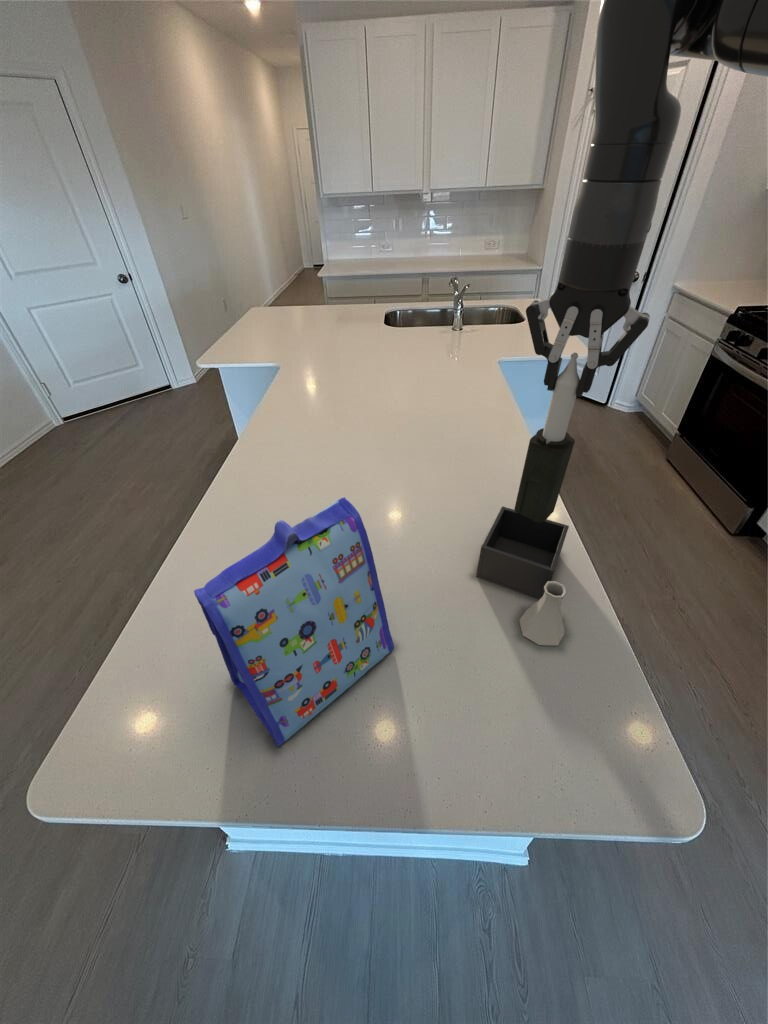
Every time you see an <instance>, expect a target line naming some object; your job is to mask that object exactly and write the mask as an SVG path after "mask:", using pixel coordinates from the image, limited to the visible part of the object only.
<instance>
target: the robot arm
mask: <svg viewBox="0 0 768 1024" xmlns="http://www.w3.org/2000/svg"><path fill="white" fill-rule="evenodd" d="M595 39H596V40H595V41H596V42H595V43H596V44H595V71H594V73H595V75H594V76H595V77H594V129H593V133H592V136H591V140H590V144H589V148H588V153H587V158H586V163H585V167H584V171H583V176H582V177H583V178H582V181H581V185H580V187H579V192H578V194H577V197H576V200H575V204H574V206H573V211H572V215H571V221H570V224H569V229H568V234H567V238H566V243H565V247H564V252H563V257H562V261H561V267H560V270H559V271H560V272H559V276H558V280H557V285H556V287H555V290H554V291H553V292H552V293H551V295H550V296H549V298H546V299H542V300H540V301H539V300H536V299H535V300H533V301H532V302H531V303H530V304H528V306H527V307H526V308H525V315H526V319H527V323H528V328H529V332H530V336H531V340H532V345H533V349H534V353H535V354H536V355H537V356H542V357H545V359H546V360H547V363H546V368H545V374H544V376H543V377H544V378H543V385H544V386H547V388H546V390H547V391H550V392H553V390H554V386H555V381H556V378H557V377H558V376H559V375H560V370H561V365H562V363H563V362H562V361H563V357H562V354H563V352H564V349H565V347H566V345H567V343H568V341H569V339H570V337H575V336H581V337H583V338H585V339H588V342H587V358H586V361H585V363H584V366H583V368H582V371H581V372H582V373H581V375H580V382H579V386H578V389H577V393H576V397H581V398H582V397H583V394H584V393H586V394H587V393H588V392H589V391H590V390H591V387H592V385H593V383H594V379H595V376H596V372H597V369H598V368H599V367H600V368H601V367H604V366H607V367H612V366H615V364H616V363H617V362H618V361H619V360H620V359H621V358H622V356H623V355H624V354H625V353H626V352H627V351H628V349H630V347H631V346H632V345H633V344H634V343H635V342H636V340H637V339H638V338H639V337H640V336H641V334H643V332H644V331H645V330H646V329H647V328H648V326H649V324H650V314H649V313H648V312H640V311H639V310H638V309H636V308H634V307H632V306H631V303H632V301H631V298H630V296H631V295H630V293H631V288H632V285H633V283H634V279H635V275H636V272H637V269H638V267H639V263H640V259H641V257H642V253H643V249H644V246H645V244H646V242H647V241H646V240H647V237H648V234H649V232H650V231H651V228H652V224H653V223H652V221H653V218H654V215H655V212H656V208H657V203H658V198H659V194H660V193H659V192H660V188H661V184H662V179H663V176H664V173H665V170H666V167H667V163H668V160H669V157H670V154H671V150H672V147H673V144H674V141H675V138H676V135H677V132H678V128H679V124H680V120H681V113H682V107H681V102H680V100H679V99H678V98H677V97H676V96H675V95H674V94H672V93H671V92H670V91H669V89H668V85H667V82H668V74H669V73H668V71H669V64H670V57H678V58H679V57H680V58H689V59H697V60H698V59H699V60H707V61H717V62H719V64H720V65H722V66H724V67H726V68H729V69H730V70H734V71H737V72H740V73H745V74H751V75H757V76H761V77H767V78H768V0H601V2H600V7H599V12H598V18H597V25H596V38H595ZM549 309H551V312H552V314H553V316H554V318H555V321H556V323H557V325H558V329H559V330H558V332H557V335H556V337H555V339H554V342H553V344H552V343H551V342H550V340H549V336H548V331H547V325H546V322H545V320H546V318H547V317H548V316H549ZM622 318H625V321H624V323H623V327H622V329H623V331H624V332H623V333H622V334H621V335H620V337H619V338H618V339H617V341H615V343H613V345H612V346H611V347H610V348H609V350H606V351H602V350H603V343H604V336H605V333H606V332H607V331H608V330H609V329H611V328H612V326H614V325H615V324H616V323H618V322H619V321H620V320H621V319H622Z"/></svg>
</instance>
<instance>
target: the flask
mask: <svg viewBox="0 0 768 1024" xmlns="http://www.w3.org/2000/svg"><path fill="white" fill-rule="evenodd" d="M544 590H545V592H544V595H543V597H542V598H540V599H537V601H536V602H534V603H533V604H532V605H531V606H529V607H528V608H527V609H526V610H525V612H524V613H523V615H522V616H521V617H520V619H519V620H518V621H519V625H520V630H521V634H522V636H523V637H524V638H526V639H528V640H530V641H531V642H533V643H535V644H537V645H538V646H553V647H554V646H555V647H556V646H559V645H560V642H561V640H562V639H563V637H564V636H565V634H566V632H565V625H564V621H563V616H562V615H563V614H562V609H561V608H562V600H563V599H564V598H565V596H566V595H567V589H566V586H565V585H564V584H562V583H560V582H558V581H555V580H553V581H552V580H551V581H548V582H547V583H546V585H545V586H544Z"/></svg>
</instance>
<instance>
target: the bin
mask: <svg viewBox="0 0 768 1024" xmlns="http://www.w3.org/2000/svg"><path fill="white" fill-rule="evenodd" d="M569 528H570V525H569V524H568V525H567V524H565V523H560V522H557V521H553V520H550V519H548V518H547V519H546V520H545V521H544V522H541V523H538V522H534V521H533V520H532V519H530V518H528V517H526V516H524V515H522V514H518V513H516V512H515V510H514V509H513V508H509V507H506V506H503V505H502V506H501V508H500V509H499V512H498V513H497V516H496V518H495V519H494V521H493V523H492V525H491V527H490V529H489V531H488V532H487V535H486V537H485V539H484V540H483V542H482V544H481V546H480V550H479V558H478V561H477V569H476V575H475V577H476V578H478V579H481V580H483V581H487V582H490V583H492V584H495V585H498V586H500V587H503V588H506V589H509V590H512V591H514V592H517V593H520V594H522V595H525V596H528V597H530V598H533V599H537V600H539V599H540V598H542V597H543V595H544V592H545V590H544V586H545V585H546V583H547V582H548V581H552V579H553V578H554V574H555V571H556V567H557V565H558V562H559V558H560V555H561V552H562V549H563V546H564V543H565V540H566V537H567V534H568V531H569Z"/></svg>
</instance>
